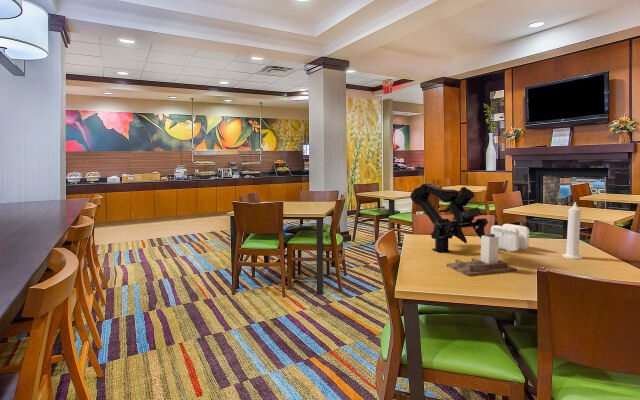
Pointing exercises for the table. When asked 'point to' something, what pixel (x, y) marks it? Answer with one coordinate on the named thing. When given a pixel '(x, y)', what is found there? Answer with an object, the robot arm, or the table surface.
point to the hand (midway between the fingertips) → (475, 241)
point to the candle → (573, 233)
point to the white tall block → (489, 248)
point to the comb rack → (480, 267)
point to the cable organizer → (511, 237)
